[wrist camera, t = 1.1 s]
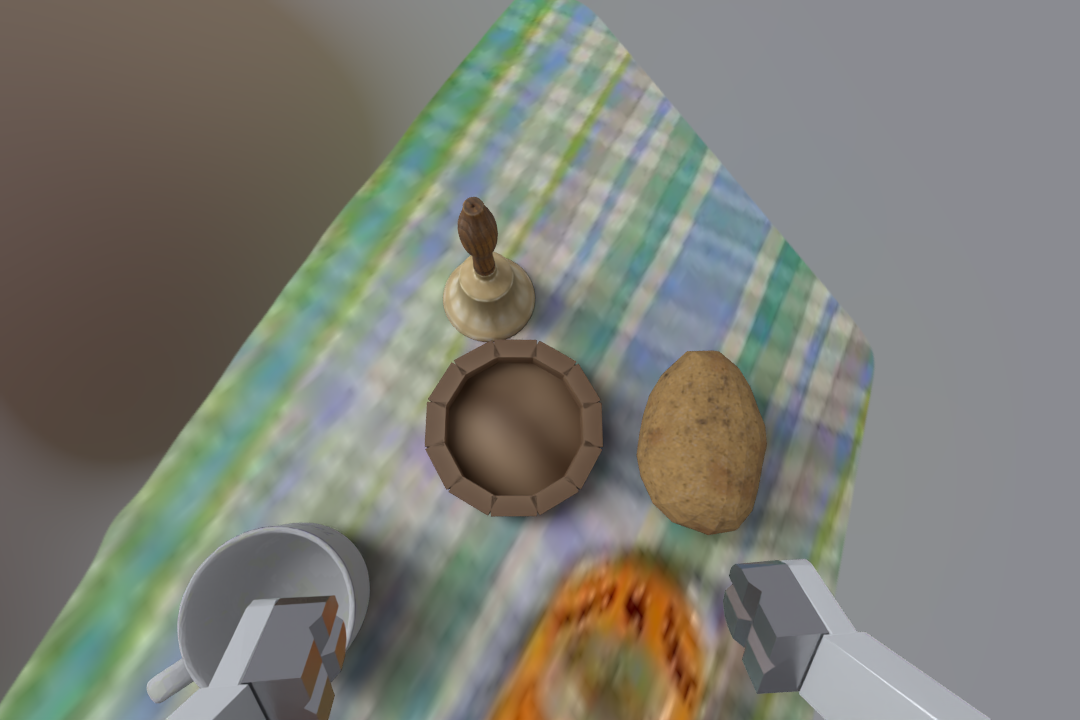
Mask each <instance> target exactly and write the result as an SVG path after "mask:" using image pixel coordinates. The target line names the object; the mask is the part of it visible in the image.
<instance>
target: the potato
mask: <svg viewBox="0 0 1080 720" xmlns="http://www.w3.org/2000/svg"><path fill="white" fill-rule="evenodd" d="M766 446H767V442H766V430H765V424H764V422H763V420H762V417H761V415H760V412H759V410H758V407H757V404H756V401H755V399H754V396H753V393H752V390H751V388H750V386H749V384H748V382H747V381H746V379H745V378H744V376H743V374H742V373H741V371H740V370H739V368H738V367H737V366H736V365H735V364H733V363H732V362H731V361H730V360H729V359H728V358H726V357H725V356H724V355H723V354H722V353H720V352H718V351H687V352H686V353H685V354H684V355H683V356H681V357H680V358H679V359H678V360H677V361H676V362H675V363H674V364H673V365H672V366H671V367H670V368H669V369H667V370H666V371H665V372H664V374H663V375H662V376H661V377H660V379H659V380H658V382H657V384H656V385H655V387H654V389H653V390H652V392H651V394H650V395H649V398H648V402H647V405H646V408H645V411H644V414H643V419H642V424H641V429H640V434H639V441H638V448H637V460H638V465H639V470H640V475H641V478H642V481H643V483H644V485H645V487H646V489H647V491H648V493H649V495H650V498H651V500H652V502H653V504H654V505H655V506H656V507H657V508H658V509H660V510H661V511H662V512H663V513H664V514H665V515H666V516H667V517H668V518H669V519H670V520H671V521H672V522H673V523H676V524H679V525H682V526H685V527H688V528H691V529H694V530H697V531H699V532H702V533H704V534H707V535H711V534H717V533H723V532H730V531H735V530H737V529H738V528H739V527H740V525H741V524H742V523H743V522H744V520H745V519H746V518H747V517H748V515H749V514H750V513H751V512H752V510H753V506H754V503H755V499H756V495H757V492H758V488H759V482H760V476H761V470H762V464H763V460H764V455H765V451H766Z"/></svg>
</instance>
